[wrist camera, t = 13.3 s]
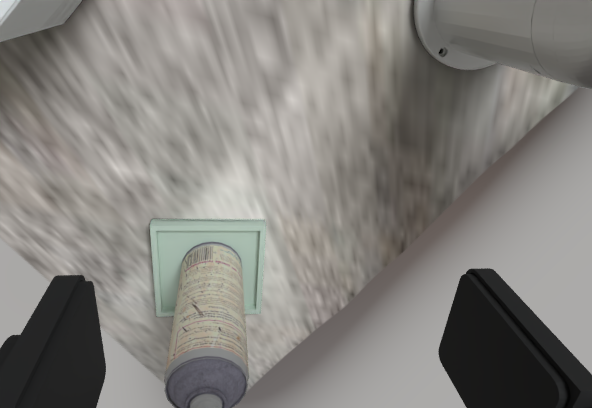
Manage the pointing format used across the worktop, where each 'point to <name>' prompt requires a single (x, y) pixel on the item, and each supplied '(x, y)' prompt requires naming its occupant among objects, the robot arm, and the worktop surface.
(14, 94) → the worktop surface
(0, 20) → the skincare box
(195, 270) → the aerosol can
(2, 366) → the robot arm
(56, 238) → the worktop surface
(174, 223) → the tray
